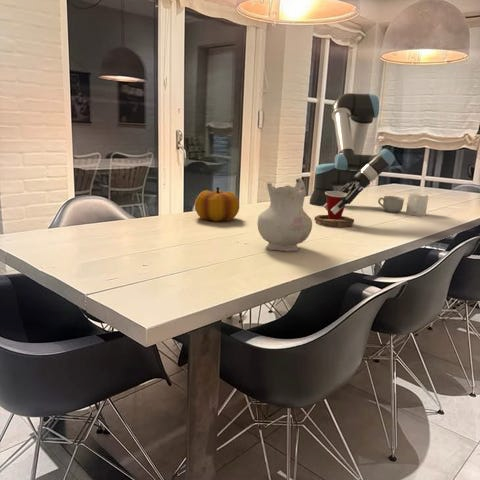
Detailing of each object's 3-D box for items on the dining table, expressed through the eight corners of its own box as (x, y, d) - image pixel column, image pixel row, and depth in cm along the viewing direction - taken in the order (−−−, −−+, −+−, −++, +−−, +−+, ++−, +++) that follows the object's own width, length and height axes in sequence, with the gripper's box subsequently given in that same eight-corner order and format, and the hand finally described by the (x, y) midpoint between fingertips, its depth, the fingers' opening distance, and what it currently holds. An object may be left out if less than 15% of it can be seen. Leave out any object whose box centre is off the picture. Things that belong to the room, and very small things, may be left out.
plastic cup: (327, 220, 215) (329, 194, 213) (319, 216, 226) (321, 191, 223) (350, 221, 217) (352, 194, 214) (341, 216, 228) (344, 191, 225)
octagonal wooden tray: (309, 220, 227) (309, 213, 226) (340, 219, 233) (341, 212, 232) (326, 228, 212) (327, 220, 211) (359, 227, 217) (360, 219, 216)
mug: (423, 217, 251) (426, 197, 249) (403, 215, 255) (406, 195, 253) (426, 213, 263) (429, 194, 260) (407, 211, 267) (409, 192, 265)
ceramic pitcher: (270, 240, 188) (269, 177, 183) (319, 243, 181) (319, 177, 175) (250, 253, 168) (248, 182, 163) (304, 257, 161) (304, 183, 156)
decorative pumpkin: (248, 222, 217) (250, 189, 214) (205, 225, 206) (206, 190, 202) (226, 214, 234) (228, 183, 230) (185, 216, 222) (186, 184, 219)
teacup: (400, 210, 269) (401, 196, 267) (404, 214, 259) (406, 199, 257) (374, 209, 271) (376, 195, 269) (378, 212, 260) (380, 197, 258)
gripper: (380, 185, 210) (342, 220, 211) (360, 179, 231) (325, 211, 232) (370, 173, 207) (332, 208, 208) (350, 168, 229) (316, 200, 230)
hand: (328, 210), depth 220 cm, fingers closed on plastic cup, 9 cm apart
